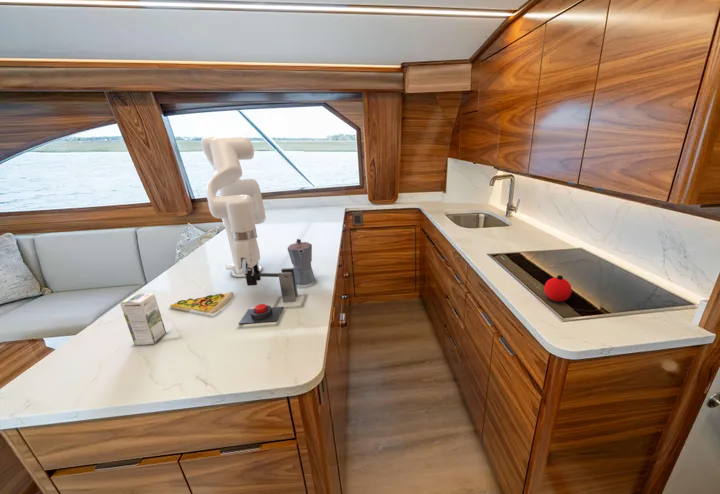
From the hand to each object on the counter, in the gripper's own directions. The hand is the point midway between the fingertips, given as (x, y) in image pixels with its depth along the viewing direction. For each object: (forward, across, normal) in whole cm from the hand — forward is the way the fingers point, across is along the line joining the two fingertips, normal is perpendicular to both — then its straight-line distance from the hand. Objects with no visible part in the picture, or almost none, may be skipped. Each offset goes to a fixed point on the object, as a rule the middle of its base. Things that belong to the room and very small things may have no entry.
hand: (254, 282), depth 108 cm
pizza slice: (+9, -1, -21) cm, 23 cm away
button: (+6, +11, +5) cm, 13 cm away
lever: (-1, 0, +6) cm, 6 cm away
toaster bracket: (+9, 0, +12) cm, 15 cm away
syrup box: (+9, +18, -26) cm, 33 cm away
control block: (+9, +11, +5) cm, 15 cm away
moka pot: (+9, -16, +14) cm, 23 cm away
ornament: (+9, +13, +111) cm, 112 cm away
